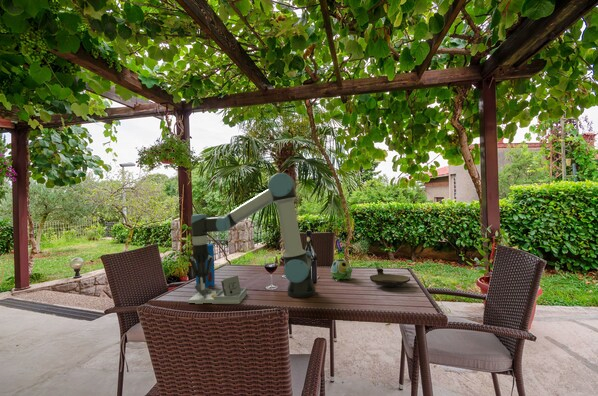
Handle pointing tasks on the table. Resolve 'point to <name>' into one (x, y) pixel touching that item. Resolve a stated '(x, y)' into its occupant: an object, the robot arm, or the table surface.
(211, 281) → the blue tall box
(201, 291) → the breaker tagged
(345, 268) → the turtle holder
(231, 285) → the electrical switch
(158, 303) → the table surface
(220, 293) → the board
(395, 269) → the table surface
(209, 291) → the breaker off
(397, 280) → the oil lamp
